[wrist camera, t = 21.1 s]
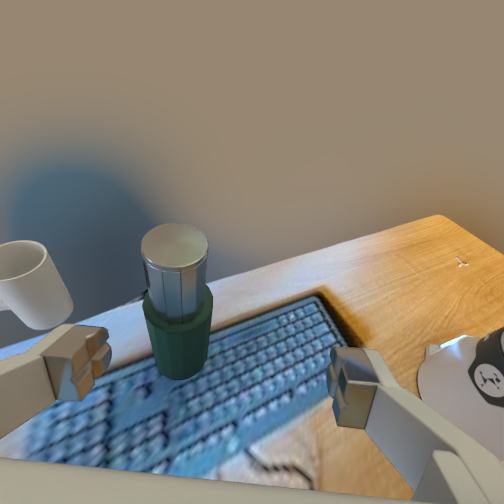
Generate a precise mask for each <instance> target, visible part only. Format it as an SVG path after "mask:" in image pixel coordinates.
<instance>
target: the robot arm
mask: <svg viewBox="0 0 504 504" xmlns="http://www.w3.org/2000/svg"><path fill="white" fill-rule="evenodd" d="M108 338H109V334H108V329H106V328H104V327H96V326H86V325H75V324H62V325H59V326H58V327H57V328H55V329H54V330H53V331H52V332H50V333H49V334H48V335H46V336H45V337H44V338H43V339H41V340H40V341H39V342H38V343H36V344H35V345H34V346H32V347H31V348H30V349H29V350H27V351H26V352H25V353H23V354H17V355H14V356H11V357H9V358H6V359H4V360H1V361H0V439H2V438H3V437H4V436H6V435H7V434H9V433H10V432H12V431H13V430H15V429H16V428H18V427H19V426H21V425H22V424H24V423H25V422H27V421H28V420H30V419H31V418H33V417H34V416H35V415H37V414H38V413H40V412H41V411H43V410H44V409H46V408H47V407H49V406H50V405H52V404H53V403H55V402H56V400H60V401H76V402H82V401H83V399H84V398H85V397H86V395H87V394H88V393H89V392H90V390H91V389H92V388H93V386H94V385H95V379H96V378H97V377H99V376H101V375H102V374H103V373H104V372H105V371H106V369H107V368H108V366H109V364H110V361H111V356H112V350H111V346H110V345H109V344H108V343H107V342H106V341H107V339H108ZM330 358H331V361H332V362H331V363H330V364H329V365H328V367H327V388H328V393H329V395H330V396H331V397H332V398H333V399H334V400H333V405H332V408H333V412H334V416H335V419H336V423H337V426H340V427H348V428H356V429H364V430H365V432H366V433H367V435H368V436H369V437H370V438H371V439H372V441H373V442H374V443H375V444H376V445H377V447H378V448H379V449H380V450H381V452H382V453H383V454H384V455H385V456H386V458H387V459H388V460H389V461H390V462H391V464H392V465H393V466H394V467H395V468H396V470H397V471H398V472H399V473H400V474H401V476H402V477H403V478H404V479H405V481H406V482H407V483H408V484H409V485H410V487H411V488H412V489H413V490H414V491H415V493H414V495H413V498H412V500H411V501H410V500H401V499H391V498H382V497H373V496H363V495H354V494H344V493H335V492H325V491H316V490H306V489H297V488H287V487H277V486H268V485H258V484H248V483H239V482H229V481H220V480H210V479H200V478H191V477H181V476H172V475H163V474H153V473H144V472H134V471H125V470H116V469H106V468H97V467H87V466H78V465H68V464H59V463H50V462H40V461H31V460H21V459H12V458H2V457H0V504H504V327H503V328H500V329H498V330H495V331H492V332H491V333H489V334H488V335H487V336H485V337H484V338H479V337H472V336H470V335H469V336H466V335H464V336H461V337H459V338H457V339H454V340H452V341H449V342H447V343H445V344H443V345H437V344H431V345H429V346H427V347H426V358H425V360H424V362H423V363H422V365H421V366H420V368H419V371H418V377H417V379H418V388H419V392H420V395H421V398H422V400H421V399H419V398H418V397H417V396H415V395H414V394H413V393H411V392H410V391H409V390H407V389H406V388H401V387H400V386H399V384H398V382H397V381H396V379H395V377H394V376H393V374H392V372H391V371H390V369H389V367H388V365H387V364H386V362H385V360H384V359H383V357H382V355H381V354H380V352H379V351H378V350H377V349H367V348H361V349H360V348H347V347H334V346H333V347H332V349H331V352H330Z"/></svg>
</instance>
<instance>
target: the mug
mask: <svg viewBox="0 0 504 504" xmlns="http://www.w3.org/2000/svg"><path fill="white" fill-rule="evenodd" d="M73 308H74V304H73V301H72V299H71V296H70V295H69V292H68V291H67V289H66V287H65V285H64V283H63V281H62V279H61V277H60V275H59V273H58V271H57V269H56V268H55V265H54V264H53V262H52V260H51V258H50V256H49V254H48V253H47V250H46V249H45V247H44V246H43V245H41V244H40V243H37V242H34V241H26V240H23V241H13V242H9V243H5V244H2V245H0V311H2V310H12V311H13V312H14V313H15V314H16V315H17V316H18V317H19V318H20V319H21V320H22V321H23V322H24V323H25V324H26V325H27V326H28V327H30V328H32V329H35V330H47V329H51V328H54V327H56V326H58V325H60V324H61V323H63V322H64V321H65V320H66V319H67V318H69V316H70V315H71V313H72V311H73Z"/></svg>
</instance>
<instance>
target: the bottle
mask: <svg viewBox="0 0 504 504" xmlns="http://www.w3.org/2000/svg"><path fill="white" fill-rule="evenodd" d="M142 307H143V311H144V315H145V320H146V324H147V328H148V332H149V336H150V341H151V345H152V349H153V353H154V358H155V362H156V366H157V368H158V370H159V371H160V372H161V373H162V374H163V375H164V376H166V377H168V378H170V379H174V380H182V379H187V378H189V377H191V376H193V375H195V374H196V373H197V372H198V371H199V370H200V369H201V368H202V367H203V365H204V363H205V361H206V358H207V352H208V344H209V335H210V326H211V318H212V309H213V296H212V293H211V291H210V289H209V287H208V286H207V285H206V284H205V298H204V307H203V309H202V311H201V312H200V313H199V315H198V316H197V317H195V319H192V320H190V321H188V322H186V323H184V324H183V323H182V324H168V323H166V322H164V321H162V320H161V319H159V318H157V317H156V316H155V313H154V311H153V309H152V307H151V302H150V297H149V292H147V293H146V294H145V297H144V301H143V305H142Z"/></svg>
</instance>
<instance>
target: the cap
mask: <svg viewBox="0 0 504 504" xmlns="http://www.w3.org/2000/svg"><path fill="white" fill-rule="evenodd" d="M141 255H142V260H143V266H144V270H145V276H146V281H147V286H148V292H149V297H150V302H151V307H152V309H153V311H154V313H155V316H156V317H157V318H159V319H161V320H162V321H164V322H166V323H168V324H182V323H183V324H184V323H186V322H188V321H190V320H192V319H195V317H197V316H198V315H199V313H200V312H201V311H202V309H203V307H204V298H205V284H206V269H207V256H208V240H207V238H206V236H205V235H204V234H203V232H201V231H200V230H199V229H197V228H196V227H193V226H191V225H188V224H183V223H168V224H163V225H160V226H157V227H155V228H153V229H152V230H150V231H149V232H148V233H147V234H146V235H145V236H144V238H143V240H142V243H141Z"/></svg>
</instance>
